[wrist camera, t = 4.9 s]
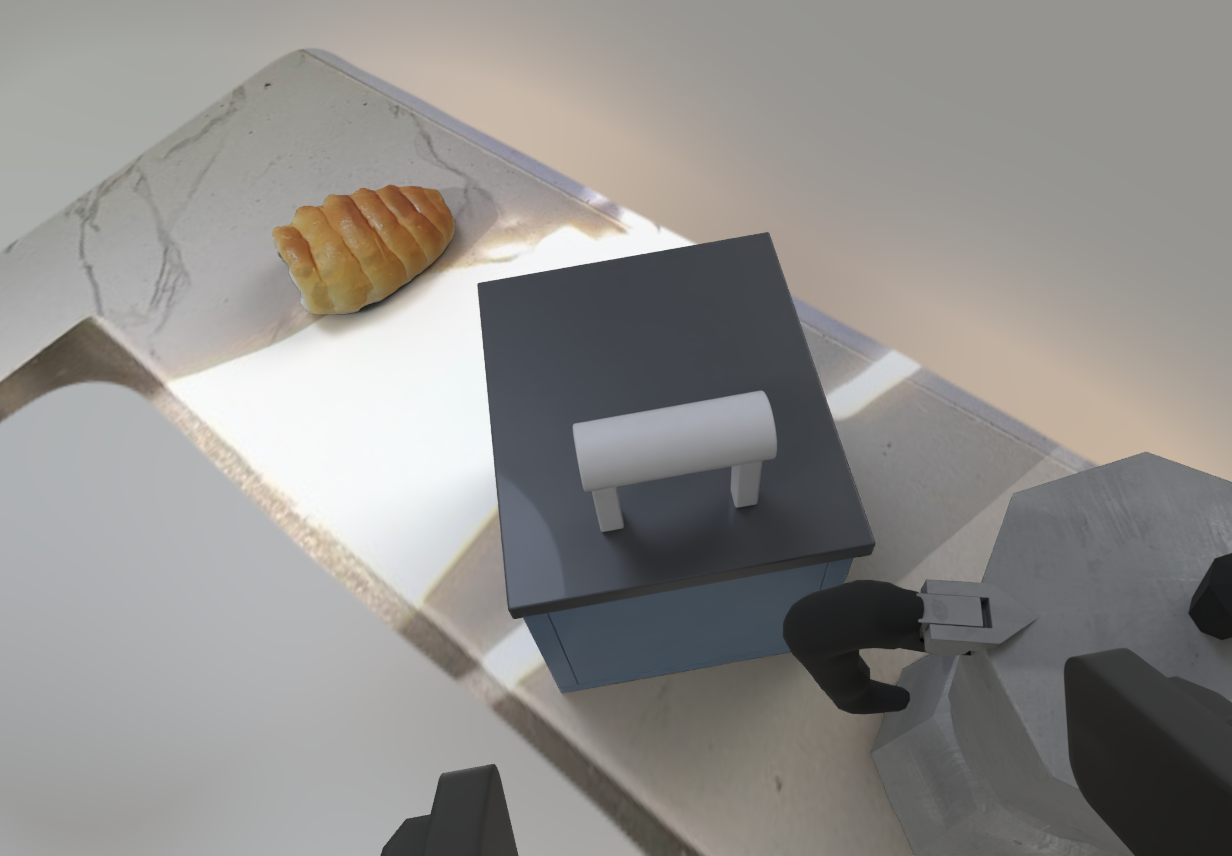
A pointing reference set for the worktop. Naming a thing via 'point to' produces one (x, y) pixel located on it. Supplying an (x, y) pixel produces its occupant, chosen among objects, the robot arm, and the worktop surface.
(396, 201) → the pastry
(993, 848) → the coffeepot
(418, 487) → the worktop surface
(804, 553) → the grey box lid
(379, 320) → the worktop surface
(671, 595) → the blue-grey box
